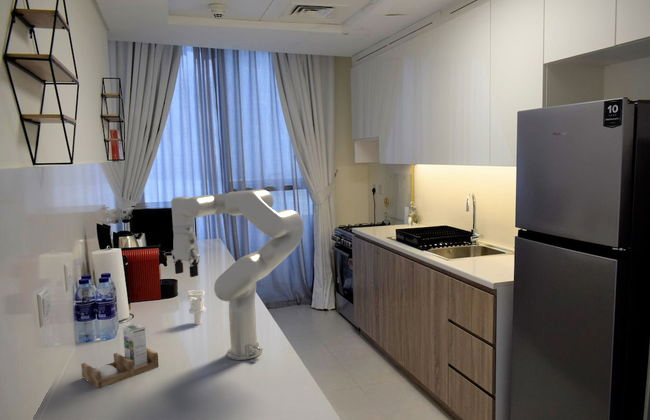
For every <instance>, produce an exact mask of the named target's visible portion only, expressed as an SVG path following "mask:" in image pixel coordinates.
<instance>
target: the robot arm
mask: <svg viewBox="0 0 650 420" xmlns="http://www.w3.org/2000/svg"><path fill="white" fill-rule="evenodd" d="M274 201H275V199H274V197H273V194H271V192H270V191H267V190H266V189H260V188H259V189H250V190H249V189H248V190H237V191H229V192H228V193H227V192H226V193H216V194H206V195H205V194H204V195H197V196H193V197H190V196H176V197H173V198H172V199H171V203H170V204H171V215H172V216H171V217H172V219H171V220H172V231H173V242H172V243H173V249H171V251H170V252H171V255H172V259H173V264H174V272H175V274H177V275H178V274H183V273H184V262H185V261H186V262H188V264H189V267H188V268H189V277H190V278H194V277H198V276H199V262H200V258H201V254H199V248H198V240H197V236H196V233H195V226H194V224H195V223H194V218H195V219H196V218H201V217H207V216H211V215H218V214H221V215H222V214H229V216H232V217H233V216H234V217H235V216H243V217H244V218H246V220H248V221H249V222H250V223H251V224H252V225H253V226H254V227H256V228H257V229H258V230H259V231H260V232H261V233H263V234H264V235H265V236H267V237H269V238H270V239H269V240H268V241H266V242H265V244H263V245H262V246H261V247H260V248H258V249H257V250H256V251H254V252H251V253H249V254H245V255H244V256H241V257H240V258H238V259H237V260H235V262H234V263H232V264H231V265H230V266H229V267H228V268H227V269H226V270H225V271H224V272H222V273H221V274H220V275H219V276H218V277H217V279H216V280H215V282H214V284H213V285H214V286H213V289H214V290H213V291H214V294H215V296H216V297H217V298H218V300H220V301H222V302H226V303H228V318H229V319H228V320H229V322H228V323H229V334H230V335H229V337H230V339H229V340H230V348H229V349H228V350H227V351H226V356H227V358H229V359H231V360H236V361H246V360H251V359H254V358H257V357H259V356H260V355H262V353H263V348H262V347H261V346H260V344H259V342H258V337H257V336H258V335H257V316H256V315H257V312H256V310H257V309H256V293H257V282H258V281H260V280H261V279H264V278H266V277H267V276H268V275H269V274H270V273H271V272H273V270H275V269H276V267H277V266H279V265H280V264H281V263H283V261H284V260H285V259H287V257H289V256H290V255H291V254H292V253H293V252H294V250H296V248H297V247H298V246H299V244H300V242H301V240H302V238H303V235H304V223H303V221H304V220H303V218H302V217H301V215H300V213H299V212H298V211H296V210H293V209H283V210H277V211H275V210H274V209H272V208H273V205H274ZM183 261H184V262H183Z"/></svg>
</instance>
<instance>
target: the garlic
mask: <svg viewBox="0 0 650 420" xmlns="http://www.w3.org/2000/svg"><path fill="white" fill-rule="evenodd" d="M95 368H96V370H98V371H99V372H101V380H102V379H105V378H108V377H111V376H114V375H117V374H119V372H118V369H116V368H115V367H113V366H111V365H107V364H104V365H100V366H96V367H95Z"/></svg>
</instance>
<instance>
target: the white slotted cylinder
mask: <svg viewBox="0 0 650 420" xmlns="http://www.w3.org/2000/svg"><path fill="white" fill-rule="evenodd" d="M205 295H206V294H205V291H204V290H194V289H192V290H187V297H188V300H189V302H190V305H189V306H190V308H189V309H188V313H190V314H193V318H194V320H193V321H194V325H197V326H198V325H201V324H203V323H202V318H203V317H202V313H203V314H204V313H205V312H207V309H206V307H205V306H204V304H205V303H204V297H203V296H205Z"/></svg>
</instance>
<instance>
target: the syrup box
mask: <svg viewBox="0 0 650 420" xmlns="http://www.w3.org/2000/svg"><path fill="white" fill-rule="evenodd" d="M122 333H123V334H122V335H123V346H124V348H123V349H124V357H126V358H128V359H130V360H132V361H133V366H134V368H137V367H140V366H142V365H145V364H147V349H146V348H147V336H146V334H147V333H146V327H145V326H143V325H141V324H139V323H135V324H130V325H127V326H124V327H123V328H122Z"/></svg>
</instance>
